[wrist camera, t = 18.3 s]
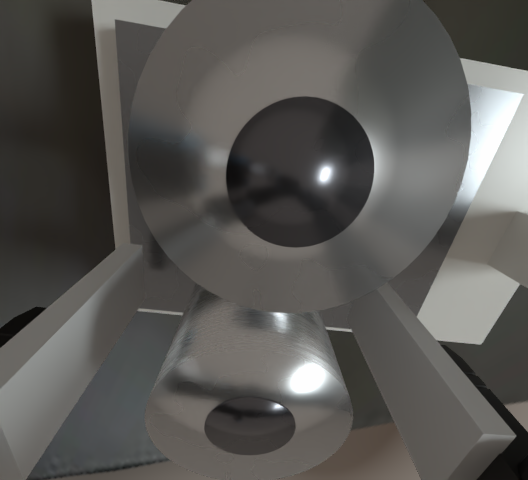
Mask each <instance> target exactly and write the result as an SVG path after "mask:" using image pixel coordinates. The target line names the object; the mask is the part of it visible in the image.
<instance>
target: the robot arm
mask: <svg viewBox="0 0 528 480" xmlns="http://www.w3.org/2000/svg"><path fill="white" fill-rule="evenodd" d="M144 300H145V289H144V269H143V249H142V245H136V244H128V243H123V244H122V245H120V246H119V247H118V248H117V249H116V250H115V251H113V252H112V253H111V254H110V255H109V256H108V257H106V258H105V259H104V260H103V261H102V262H101V263H99V264H98V265H97V266H96V267H95V268H94V269H92V270H91V271H90V272H89V273H88V274H86V275H85V276H84V277H83V278H82V279H81V280H79V281H78V282H77V283H76V284H75V285H74V286H72V287H71V288H70V289H69V290H68V291H67V292H65V293H64V294H63V295H62V296H61V297H60V298H58V299H57V300H56V301H55V302H54V303H53V304H51V305H50V306H49V307H48V308H43V307H35V308H33V309H31V310H29V311H27V312H25V313H23V314H21V315H19V316H17V317H15V318H13V319H12V320H10V321H9V322H8V323H7V324H5V325H4V326H3V327H1V328H0V480H26V478H27V477H28V475H29V474H30V472H31V471H32V469H33V468H34V466H35V465H36V463H37V462H38V460H39V459H40V457H41V456H42V454H43V453H44V451H45V450H46V448H47V447H48V445H49V444H50V442H51V441H52V439H53V437H54V436H55V434H56V433H57V431H58V430H59V428H60V427H61V425H62V424H63V422H64V421H65V419H66V418H67V416H68V415H69V413H70V412H71V410H72V409H73V407H74V406H75V404H76V403H77V401H78V400H79V398H80V397H81V395H82V394H83V392H84V391H85V389H86V388H87V386H88V384H89V383H90V381H91V380H92V378H93V377H94V375H95V374H96V372H97V371H98V369H99V368H100V366H101V365H102V363H103V362H104V360H105V359H106V357H107V356H108V354H109V353H110V351H111V350H112V348H113V347H114V345H115V344H116V342H117V341H118V339H119V338H120V336H121V335H122V333H123V332H124V330H125V328H126V327H127V325H128V324H129V322H130V321H131V319H132V318H133V316H134V315H135V313H136V312H137V310H138V309H139V307H140V306H141V304H142V303H143V301H144ZM347 321H348V323H349V326H350V328H351V330H352V332H353V334H354V336H355V338H356V341H357V343H358V345H359V347H360V349H361V351H362V353H363V356H364V358H365V360H366V362H367V364H368V366H369V369H370V371H371V373H372V375H373V377H374V379H375V381H376V384H377V386H378V388H379V390H380V392H381V394H382V397H383V399H384V401H385V403H386V405H387V407H388V409H389V412H390V414H391V416H392V418H393V420H394V422H395V424H396V427H397V428H398V431H399V433H400V435H401V437H402V440H403V441H404V444H405V446H406V448H407V450H408V452H409V455H410V457H411V459H412V461H413V463H414V465H415V467H416V470H417V472H418V474H419V476H420V478H421V480H528V432H527V431H526V430H525V429H524V427H523V426H522V425H521V424H520V423H519V422H518V421H517V420H516V419H515V417H514V416H513V415H512V414H511V413H510V412H509V411H508V409H506V407H505V406H504V405H503V404H502V403H501V402H500V400H499V399H498V398H497V397H496V396H495V395H494V394H493V393H492V391H491V390H490V389H487V388H486V385H485V384H484V382H483V381H482V380H481V379H480V378H479V377H478V376H476V375H475V372H474V371H473V370H472V369H471V368H470V367H469V366H468V364H467V363H466V362H465V361H464V360H463V359H462V358H461V357H460V356H458V355H457V354H456V353H455V352H453V351H452V350H451V349H449V348H448V347H447V346H446V345H440V344H439V343H438V342H437V341H436V339H435V338H434V337H433V336H432V335H431V334H430V332H429V331H428V330H427V329H426V328H425V326H424V325H423V324H422V323H421V322H420V320H419V319H418V318H417V317H416V316H415V314H414V313H413V312H412V311H411V310H410V309H409V307H408V306H407V305H406V304H405V303H404V301H403V300H402V299H401V298H400V297H399V295H398V294H397V293H396V292H395V291H394V290H393V288H392V287H391V286H390V285H389V284H388V282H387V283H385V284H384V285H382V286H381V287H379V288H378V289H376V290H374V291H372V292H370V293H368V294H366V295H364V296H362V297H360V298H358V299H356V300H353V303H352V306H351V309H350V311H349V314H348V317H347Z"/></svg>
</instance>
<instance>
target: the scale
mask: <svg viewBox="0 0 528 480" xmlns="http://www.w3.org/2000/svg"><path fill="white" fill-rule="evenodd" d="M91 1H92V11H93V21H94V32H95V42H96V52H97V63H98V73H99V84H100V94H101V104H102V115H103V125H104V135H105V146H106V156H107V167H108V177H109V187H110V198H111V208H112V218H113V229H114V239H115V250H116V249H117V248H118V247H119V246H120V245H122V244H123V243H128V244H130V232H129V217H128V203H127V189H126V174H125V160H124V146H123V131H122V117H121V103H120V89H119V74H118V60H117V46H116V31H115V19H117V20H122V21H128V22H133V23H139V24H144V25H149V26H155V27H160V28H167V27H168V26H169V25H170V23H171V22H172V21H173V20H174V18H175V17H176V16H177V15H178V14H179V12H180V11H181V10H182V9H183V8H184V7H185V6H186V5H181V4H175V3H170V2H165V1H160V0H91ZM460 60H461V63H462V66H463V70H464V74H465V77H466V81H467V84H471V85H476V86H482V87H487V88H493V89H498V90H504V91H509V92H514V93H520V94H524V95H523V97H522V99H521V101H520V103H519V105H518V107H517V109H516V111H515V113H514V116H513V118H512V120H511V122H510V124H509V126H508V128H507V130H506V132H505V134H504V136H503V138H502V141H501V143H500V145H499V147H498V149H497V151H496V153H495V155H494V157H493V159H492V161H491V163H490V165H489V168H488V170H487V172H486V174H485V176H484V178H483V180H482V182H481V184H480V186H479V188H478V190H477V193H476V195H475V197H474V199H473V201H472V203H471V205H470V207H469V209H468V211H467V213H466V215H465V217H464V220H463V222H462V224H461V226H460V228H459V230H458V232H457V234H456V236H455V238H454V240H453V242H452V244H451V247H450V249H449V251H448V253H447V255H446V257H445V259H444V261H443V263H442V265H441V267H440V269H439V272H438V274H437V276H436V278H435V280H434V282H433V284H432V286H431V288H430V290H429V292H428V294H427V296H426V299H425V301H424V303H423V305H422V307H421V309H420V311H419V313H418V315H417V318H418V319H419V320H420V322H421V323H422V324H423V325H424V326H425V328H426V329H427V330H428V331H429V332H430V334H431V335H432V336H433V337H434V338H435V339H436V340H440V341H450V342H460V343H470V344H480V345H481V344H482V342H483V341H484V339H485V338H486V336H487V335H488V333H489V331H490V330H491V328H492V327H493V325H494V324H495V322H496V321H497V319H498V317H499V316H500V314H501V313H502V311H503V310H504V308H505V307H506V305H507V303H508V302H509V300H510V299H511V297H512V296H513V294H514V292H515V291H516V289H517V288H518V286H519V285H520V284H521V285H523V286H525V287H526V288H528V71H525V70H520V69H515V68H509V67H504V66H499V65H494V64H489V63H483V62H478V61H473V60H468V59H462V58H460ZM137 311H144V312H154V313H164V314H175V315H183V313H182V312H171V311H161V310H151V309H141V308H139V309H138V310H137ZM326 329H327V330H338V331H348V332H352V330H351V329H343V328H333V327H326Z"/></svg>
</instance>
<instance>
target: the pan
mask: <svg viewBox="0 0 528 480" xmlns="http://www.w3.org/2000/svg"><path fill="white" fill-rule="evenodd" d="M165 29H166V28H160V27H155V26H149V25H144V24H139V23H133V22H128V21H122V20H117V19H115V31H116V46H117V60H118V74H119V89H120V103H121V117H122V131H123V146H124V160H125V174H126V189H127V203H128V217H129V232H130V244H136V245H142V249H143V269H144V289H145V300H144V301H143V303H142V304H141V306H140V307H139V308H141V309H151V310H161V311H171V312H182V313H184V310H185V308H186V305H187V303H188V300H189V298H190V295H191V293H192V290H193V288H194V285H195V283H196V282H194V281H193V280H192V279H191V278H190V277H188V276H187V275H186V274H185V273H184V272H183V271H181V270H180V269H179V268H178V267H177V266H176V265H175V263H174V262H173V261H172V260H171V259H170V258H169V257H168V256H167V255H166V253H165V252H164V251H163V249H162V248H161V246H160V245H159V244H158V242H157V241H156V240H155V238H154V236H153V234H152V233H151V231H150V229H149V227H148V225H147V223H146V222H145V220H144V217H143V215H142V212H141V210H140V207H139V205H138V202H137V199H136V195H135V191H134V187H133V184H132V180H131V173H130V165H129V158H128V130H129V122H130V114H131V107H132V103H133V99H134V96H135V92H136V88H137V84H138V81H139V78H140V76H141V74H142V71H143V69H144V67H145V64H146V62H147V59H148V57H149V55H150V53H151V52H152V50H153V48H154V47H155V45H156V43H157V42H158V40H159V38H160V37H161V35H162V33H163V32H164V31H165ZM468 90H469V98H470V105H471V140H470V148H469V156H468V161H467V165H466V169H465V173H464V177H463V181H462V183H461V186H460V189H459V191H458V194H457V197H456V199H455V202H454V204H453V206H452V208H451V210H450V211H449V213H448V215H447V217H446V219H445V221H444V223H443V224H442V226H441V227H440V229H439V230H438V232H437V233H436V235H435V236H434V238H433V239H432V240H431V241H430V243H429V244H428V245H427V246H426V248H425V249H424V250H423V251H422V252H421V254H420V255H419V256H418V257H417V258H416V259H415V260H414V261H413V262H412V263H410V264H409V265H408V266H407V267H406V268H405V269H404V270H403V271H401V272H400V273H399V274H398V275H396V276H395V277H394V278H393V279H391V280H390V281H388V284H389V285H390V286H391V287H392V288H393V290H394V291H395V292H396V293H397V294H398V295H399V297H400V298H401V299H402V300H403V301H404V303H405V304H406V305H407V306H408V307H409V309H410V310H411V311H412V312H413V313H414V314H415V316H416V317H417V315H418V313H419V311H420V309H421V307H422V305H423V303H424V301H425V299H426V296H427V294H428V292H429V290H430V288H431V286H432V284H433V282H434V280H435V278H436V276H437V274H438V272H439V269H440V267H441V265H442V263H443V261H444V259H445V257H446V255H447V253H448V251H449V249H450V247H451V244H452V242H453V240H454V238H455V236H456V234H457V232H458V230H459V228H460V226H461V224H462V222H463V220H464V217H465V215H466V213H467V211H468V209H469V207H470V205H471V203H472V201H473V199H474V197H475V195H476V193H477V190H478V188H479V186H480V184H481V182H482V180H483V178H484V176H485V174H486V172H487V170H488V168H489V165H490V163H491V161H492V159H493V157H494V155H495V153H496V151H497V149H498V147H499V145H500V143H501V141H502V138H503V136H504V134H505V132H506V130H507V128H508V126H509V124H510V122H511V120H512V118H513V116H514V113H515V111H516V109H517V107H518V105H519V103H520V101H521V99H522V97H523V95H524V94H520V93H514V92H509V91H504V90H498V89H493V88H487V87H482V86H476V85H471V84H468ZM352 303H353V301H351V302H348V303H345V304H343V305H339V306H336V307H332V308H328V309H324V310H320V312H321V315H322V318H323V321H324V324H325V327H333V328H343V329H351V328H350V326H349V323H348V321H347V317H348V314H349V311H350V309H351V306H352Z"/></svg>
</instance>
